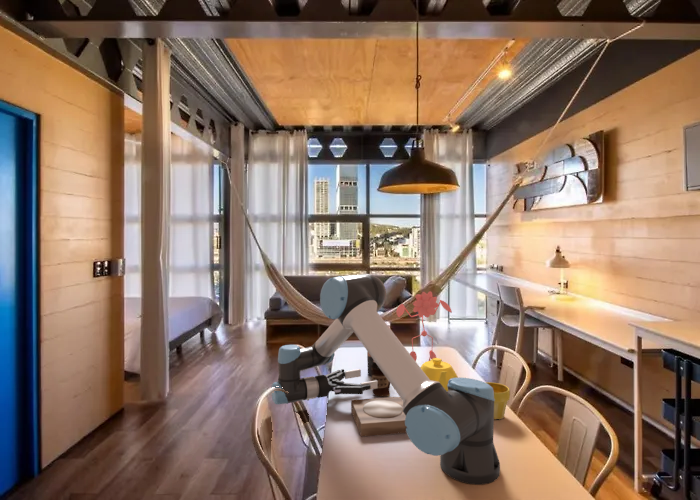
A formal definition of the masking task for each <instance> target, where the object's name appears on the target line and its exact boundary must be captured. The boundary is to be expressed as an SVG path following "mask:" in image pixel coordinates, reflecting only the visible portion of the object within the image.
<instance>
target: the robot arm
mask: <svg viewBox="0 0 700 500" xmlns="http://www.w3.org/2000/svg"><path fill="white" fill-rule="evenodd" d="M319 298H320V299H319V302H320V308H321V311H322V312H323V314H324V315H325V317H327V318H328V319H332V320H333V322H332V323H330V325H329V326H328V328H327V329H326V330H325V331H324V332H323V333H322V334H321V336H319V338H318V339H317V340H316V341H315V342H314V343H313V344H312V345H311V346H307V347H303V348H301V347H300V346H299V345H297V344H285V345H282V346H279V349H278V355H277V363H278V378H277V381H274V382H273V383H272V384H271V388H272V387H275V388H281V389H284V390H285V391H288V392H289V393H288V394H287V393H285V392H282V391H274V393H272V394H271V398H272V401H273V403H274V404H275V405H286V404H287V405H288V404H291V403H296V402H301V401H310V400H312V399H316V398H318V399H319V398H326V397H328V396H329V393H330V392H334V395H337V396H338V395H363V392H364V391H365V392H366V391H369V390H370V391H371V390H373V389H376V388H377V383H378V381H377V380H375V381H372V380H370V381H365V382H360V383H354V382H353V383H351V382H344V381H343V379H345V380H348V379H353V378H359V377H360V378H361V377H362V372H361V371H362V370H361V369H360V368H359V369H351V370H346V371H345V369H344V368H342V369H338V370H336V371H332V372H330V373H328V374H321V375H315V376H307V377H306V376H305V377H301V372H303V371H306V370H310V369H314V368H316V367H320V366H325V365H327V364H329V363H331V362H332V361H334V357H335V352H337V350H338V349H339V348H340V347H341V346H342V345H343V344H345V342H346V341H347V340H348V339H349V337H351V336H352V335H353V334H355V336H356V337H357V339H358V340H359V341H360V344H362V346H363V347H364V348H365V350H366V351H368V353H369V354H370V355H371V357H372V358H373V360H374V361H375V362H376V364H377V365H378V367H379V368H380V369H381V371H382V372H383V374H384V375H385V376H386V378H387V379H388V381H389V382H390V386H392V388H393V390H395V392H396V393H397V395H398V397H401V399H402V400H403V409H402V411H403V412H404V414H405V415H406V418H405V426H407V428H406V432H407V433H406V434H407V437H408V439H409V440H410V442H412V444H413V445H414V446H415V447H416V448H417V449H418V450H419V451H420V452H422V453H424V454H427V455H431V456H436V457H437V456H439V457H440V459H439V461H440V463H439V465H440V468H441V470H442V471H443V472H444V474H446V475H447V476H449V477H450V478H451V479H453V480H455V481H458V482H461V483H464V484H469V485H487V484H490V483H493V482H495V481H496V480H498V479H499V477H500V475H501V464H500V459H499V456H498V453H497V450H496V447H495V443H494V425H495V424H494V423H495V420H494V401H495V399H494V390H493V388H492V387H491V386H490V385H489V384H487V383H485V381H482V380H478V379H474V378H469V377H458V378H452V379H450V380H449V381H448V385H447V387H448V391H446V390H445V389H444V387H443V386H442V385H441V384H440V382H438V381H432V380H430V379H429V378H428V377H427V376H426V374H425V373H424V372H423V370H422V369H421V368H420V367H421V366H420V365H419V363H417V360H416V361H415V360H414V359H413V358H412V356H411V355H410V352H409V351H408V350H407V349H406V347H405V346H404V344H402V342H401V341H400V339H399V338H398V337H397V335H396V334H395V333H394V331H393V330H392V329H391V328H390V326H389V325H388V324H387V322H386V321H385V320H384V319H383V318H382V316H381V315H380V314H379V312H380V310H381V309H382V307H383V306H384V305H385V302H386V299H387V291H386V287H385V285H384V283H383V281H382V279H380V278H379V277H378V276H375V275H373V274H372V273H371V274H370V273H361V274H353V275H352V274H351V275H344V276H343V275H338V276H335V277H330V278H328V279H327V280H326V281H325V282H324V283H323V285H322V288H321V289H320V293H319ZM276 386H279V387H276ZM282 387H283V388H282Z"/></svg>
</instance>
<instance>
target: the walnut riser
mask: <svg viewBox="0 0 700 500" xmlns="http://www.w3.org/2000/svg"><path fill="white" fill-rule="evenodd" d="M402 409H403V400H402V399H401V397H400V396H391V397H389V396H388V397H378V398H361V399H351V400H350V412H351V416H352V417H353V420H354V422H355V424H356V427H357V429H358V432H359V434H360V437H361V438H362V437H373V436H374V437H375V436H383V435H385V436H386V435H395V434H407V432H406V428H407V426H405V418H406V415H405V414H404V412H403V411H402Z"/></svg>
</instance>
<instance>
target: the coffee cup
mask: <svg viewBox="0 0 700 500" xmlns="http://www.w3.org/2000/svg"><path fill="white" fill-rule="evenodd" d="M371 374H372V377H371V381H375V380H377V381H378V383H377V388H376V389H372V394H373V396H376V397H378V398H386V397H389V396H390V394H391V393H390V387H391V383H390V382H389V381H388V379H387V378H386V376H385V375H384V374H383V372H382V371H381V369H380V368H379V367H378V365H377V364H376V362H375V361H374V360H373V363H372V364H371Z"/></svg>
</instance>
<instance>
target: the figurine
mask: <svg viewBox="0 0 700 500" xmlns="http://www.w3.org/2000/svg"><path fill="white" fill-rule="evenodd" d="M414 297H415V299H416V300H414V301H413V302H412V305H413V306H414V307H413V309H412V311H413V313H418V314H414V315H411V314H410V312H409V311H408V310H407V308H406V307H405V305H404V304H403V303H401V304H399V305H398V306H397V309H396V313H395V314H396V315H397V317H398V318H400V317H402V316H403V314H404V313H405V311H406V313H407V315H409V317H410V318H414V317H417V316H418V317H419V318H421V324H422V327H423V328H422V329H423V330H422V331H421V333H420V334H419V335H417V336H414V337H412V338H411V347H412V349H411V351H410V352H409V354H410V355H411V356H412V358H413V359H414V360H415V361H416V362H417V360H418V359H417V357H418V355H417V352H416V351H414V343H413V340H414V339H416V338H419V337H421V336H422V337H427V336H428V337H430V338H431V348H433V347H434V346H433V344H434V343H433V341H434V337H433V336H432V335H429V334H428V332H427V331H426V329H425V325H424V317H425V318H430V316H435V314H436V313H437V311H438V308H439V306H440V305H441V306H442V308H443V309H444V310H445V311H447V312H449V313H451V314H452V308H451V307H450V305H449V304H448V303H447V302H446V301H445V300H442V299H440V300H439V302H437V300H438V297H437V296H433V292H432V291H428V292H425V291H422V292H421V293H420V294H419V293H417V294H415V296H414ZM428 358H429V359H428V361H430V360H431V359H433V358H437V355H436V353H435V351H433V350H429V357H428Z"/></svg>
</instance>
